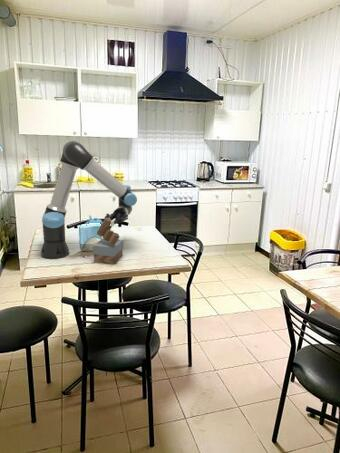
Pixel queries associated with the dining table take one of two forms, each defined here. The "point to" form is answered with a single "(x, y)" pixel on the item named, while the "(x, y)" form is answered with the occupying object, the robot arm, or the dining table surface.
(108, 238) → the wooden block set
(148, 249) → the dining table surface
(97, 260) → the tower base
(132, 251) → the dining table surface
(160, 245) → the dining table surface
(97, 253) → the tower top
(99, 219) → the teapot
